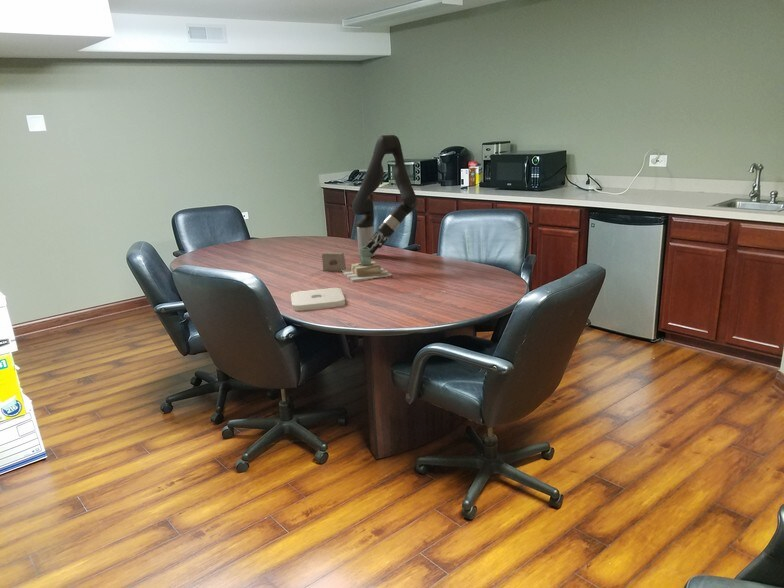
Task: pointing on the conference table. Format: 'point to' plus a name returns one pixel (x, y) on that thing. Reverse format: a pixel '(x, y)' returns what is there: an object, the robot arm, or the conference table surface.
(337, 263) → the fossil
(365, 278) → the stand
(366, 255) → the post
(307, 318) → the conference table surface
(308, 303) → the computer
